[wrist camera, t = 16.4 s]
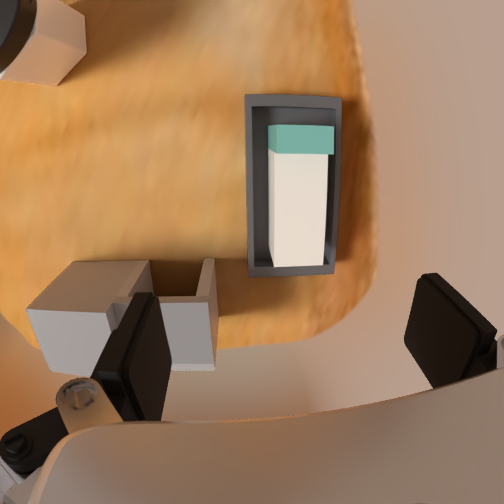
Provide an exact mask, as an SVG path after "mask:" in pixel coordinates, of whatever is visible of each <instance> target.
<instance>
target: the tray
mask: <svg viewBox="0 0 504 504" xmlns="http://www.w3.org/2000/svg"><path fill="white" fill-rule="evenodd" d="M244 99H245V154H246V205H247V251H248V274H249V278H251V277H278V276H303V275H325V274H334V269H335V257H336V245H337V232H338V217H339V200H340V178H341V144H342V98H338V97H324V96H308V95H279V94H245V97H244ZM271 125H315V126H334V155H333V154H328V174H327V203H326V224H325V242H324V257H323V265H314V266H290V267H274V264H273V261H272V257H271V253H270V249H269V246H268V126H271Z"/></svg>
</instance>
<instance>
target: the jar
mask: <svg viewBox="0 0 504 504" xmlns="http://www.w3.org/2000/svg"><path fill="white" fill-rule="evenodd" d="M86 53H87V47H86V32H85V16H84V15H83V14H81V13H79V12H78V11H76V10H75V9H73V8H71V7H70V6H68V5H67V4H65V3H63V2H62V1H60V0H0V80H6V81H16V82H24V83H33V84H40V85H47V86H54V87H55V86H57V85H58V84H59V83H60V81H61V80H62V79H63V78H64V77H65V76H66V75H67V74H68V73H69V71H70V70H71V69H72V68H73V67H74V66H75V65H76V64H77V63H78V62H79V61H80V60H81V59H82V58H83V57H84V56H85V55H86Z"/></svg>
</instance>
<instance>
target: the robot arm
mask: <svg viewBox="0 0 504 504" xmlns="http://www.w3.org/2000/svg"><path fill="white" fill-rule="evenodd" d="M496 333H497V329H496V328H495V327H494V326H493V325H492V324H491V323H490V322H489V321H488V320H487V319H486V318H485V317H484V316H483V315H481V313H480V312H479V311H478V310H477V309H475V308H474V307H473V306H472V305H471V304H470V303H469V302H468V301H467V300H466V299H465V298H464V297H463V296H462V295H461V294H460V293H459V292H458V291H456V290H455V289H454V288H453V287H452V286H451V285H450V284H449V283H447V281H445V280H444V279H443V278H442V277H441V276H440V275H439V274H438V273H429V274H423V275H422V276H421V278H419V279H418V281H417V284H416V290H415V294H414V298H413V303H412V307H411V311H410V315H409V319H408V324H407V327H406V331H405V335H404V343H405V345H406V347H407V348H408V350H409V351H410V353H411V354H412V356H413V357H414V359H415V361H416V362H417V364H418V365H419V367H420V368H421V370H422V372H423V373H424V375H425V376H426V378H427V379H428V381H429V383H430V384H431V386H432V387H433V389H430V390H427V391H423V392H419V393H415V394H411V395H407V396H403V397H398V398H394V399H390V400H385V401H380V402H375V403H371V404H365V405H360V406H355V407H349V408H343V409H337V410H330V411H323V412H317V413H308V414H300V415H292V416H282V417H271V418H259V419H242V420H217V421H161V417H162V412H163V407H164V401H165V396H166V391H167V386H168V381H169V377H170V372H171V367H172V357H171V352H170V348H169V344H168V339H167V335H166V330H165V326H164V321H163V316H162V311H161V307H160V302H159V298H158V296H153V293H152V292H135V294H134V296H133V298H132V300H131V301H130V303H129V305H128V307H127V309H126V311H125V313H124V315H123V317H122V319H121V322H120V324H119V326H118V328H117V329H114V330H113V331H112V332H111V334H110V336H109V338H108V340H107V342H106V344H105V347H104V349H103V351H102V353H101V355H100V357H99V359H98V361H97V363H96V366H95V368H94V370H93V372H92V374H91V376H90V378H85V377H84V378H76V379H73V380H70V381H69V382H67V383H65V384H64V385H63V386H62V387H61V388H60V389H59V391H58V392H57V395H56V404H57V407H56V408H54V409H52V410H50V411H48V412H46V413H44V414H42V415H40V416H38V417H36V418H33V419H31V420H29V421H27V422H25V423H23V424H21V425H19V426H17V427H15V428H13V429H11V430H9V431H8V432H7V433H5V434H4V436H3V437H2V438H1V441H0V504H504V335H502V336H501V337H499V338H498V340H497V341H496V340H495V339H494V338H495V335H496Z"/></svg>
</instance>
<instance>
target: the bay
mask: <svg viewBox="0 0 504 504" xmlns="http://www.w3.org/2000/svg"><path fill="white" fill-rule="evenodd" d="M135 292H152V293H153V296H155V294H154V288H153V282H152V276H151V269H150V262H149V260H126V261H88V262H72V263H71V264H70V265H69V266H68V267H67V268H66V269H65V270H64V271H63V272H62V273H61V274H60V275H59V276H58V277H57V278H56V279H55V280H54V281H53V282H52V283H51V284H50V285H49V286H48V287H47V288H46V289H45V290H44V291H43V292H42V293H41V294H40V295H39V296H38V297H37V298H36V299H35V300H34V301H33V302H32V303H31V304H30V305H29V306H28V307H27V308H26V311H27V314H28V317H29V320H30V322H31V325H32V328H33V330H34V333H35V336H36V338H37V341H38V343H39V345H40V348H41V350H42V353H43V355H44V357H45V359H46V362H47V364H48V366H49V368H50V371H52V372H59V373H66V374H74V375H82V376H91V374H92V372H93V370H94V368H95V366H96V363H97V361H98V359H99V357H100V355H101V353H102V351H103V349H104V347H105V344H106V342H107V340H108V338H109V336H110V334H111V332H112V331H113V330H114V329H117V328H118V326H119V324H120V322H121V319H122V317H123V315H124V313H125V311H126V309H127V307H128V305H129V303H130V301H131V300H132V298H133V296H134V294H135ZM158 298H159V302H160V307H161V311H162V316H163V321H164V326H165V330H166V335H167V339H168V344H169V348H170V352H171V357H172V367H171V370H178V371H215V361H216V348H217V334H218V321H219V313H218V300H217V286H216V272H215V258H204V262H203V266H202V271H201V275H200V279H199V284H198V288H197V293H196V296H166V297H158Z"/></svg>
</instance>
